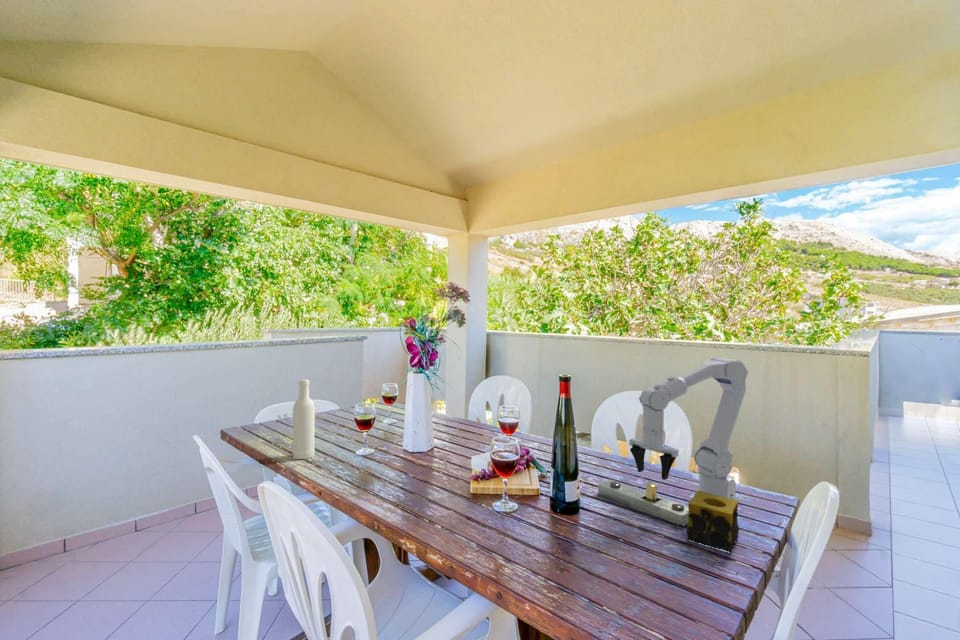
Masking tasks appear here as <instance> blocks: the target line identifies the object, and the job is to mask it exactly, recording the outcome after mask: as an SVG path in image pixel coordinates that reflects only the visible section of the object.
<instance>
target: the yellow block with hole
mask: <svg viewBox="0 0 960 640" xmlns="http://www.w3.org/2000/svg"><path fill="white" fill-rule="evenodd" d="M687 505H688V507H689V511H688V513H689V514H688V524H686V526H687V527H686V528H687V529H686V535H687V537H686V539H688V540H691V541H694V542H697V543H701V544H704V545H708V546H711V547H714V548H718V549H723V550H726V551H729V552H731V551H732V549H733V550H734V548H733V546H734V545H735V544H736V543H735V541H736V539H737V538H738V539H739V528H740V527H739V524H738V523H739V522H738V516H739V513H738V507H739V500H737V499H735V500H734V499H729V498H725V497H722V496H718V495H713V494H710V493H706V492H702V491H699V490H696V492H695V493H694V495H693V497H692V498H691V499H690V500H689V502H688V504H687ZM688 540H687V541H688ZM736 542H737V541H736ZM735 546H736V545H735ZM735 546H734V547H735ZM732 552H733V551H732Z"/></svg>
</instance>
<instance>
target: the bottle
mask: <svg viewBox="0 0 960 640" xmlns="http://www.w3.org/2000/svg"><path fill="white" fill-rule="evenodd" d="M298 381H299V382H298V399H296V401H295V402H294V404H293V406H292V458H293V459H294V460H297V459H304V460H308V459H307V458H309V459H312V458H313V457H314V456H315V449H316V447H315V422H316V421H315V417H316V416H315V413H316V411H315V410H316V409H315V407H316V406H315V403H314V401H313V400H312V399H311V397H310V380H309V379H300V380H298ZM311 457H312V458H311Z"/></svg>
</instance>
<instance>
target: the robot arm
mask: <svg viewBox="0 0 960 640" xmlns="http://www.w3.org/2000/svg"><path fill="white" fill-rule="evenodd" d="M748 374H749V370H748V369H747V367H746V366H745V364H744V362H742V361H741V360H738V359H728V358H722V357H718V356H715V357H712V358H710V359H707V360H705V361H704V363H703V364H701V365H700V366H698V367H696V368H694V369H693V370H691V371H690V372H688V373H686V374H685V375H683V376H681V377H679V376H669V377H667V380H665V381H663V382H662V383H659V384H657V383H656V384H655V385H654V386H653V388H652V387H647V388H645V389H644V390H642V392H641V394H640V396H639V397H638V400H639V402H640V404H641V405H642V439H640V438H639V439H638V438H634V437H631V438H629V441H628V446H631V448H630V451H629V452H630V453H631V454H632V456H633V459H634V461H635V465H636V468H637V469H636V470H637V472H638V473H641V472H644V469H645V455H646V450H649V451H653V452H657V453H660V454H662V455H660V456H659V458H660V463H661V479H662V480H667V479H669V475H670V471H671V467H672V466H673V464H674V462H675V460H676V459H677V457H679V449H678V448H674V447H672V446H669V445H667V444H665V443H664V418H665V417H664V414H665V413H664V412H665V409H666V408H668V404H669V403H670V402H672V401H674V400H676V399H678V398H679V397H681V396H684V395H685V394H687V391H688V388H691V387H692V386H694V385H696V384H700V383H701V382H703V381H706V380H708V379H710V378H712V379H714V380H715V381H716V382H717V383H719V386H720V387H721V389H722V395H721V398H720V401H719V404H718V407H717V411H716V413H715V415H714V420H713V422H712V426H711V428H710V432H709V436H708V438H706V439H704V441H701V442H700V445H699V447H698V449H697V450H696V451H695V452H694V456H693V460H694V463H695V464H696V465H697V469H698V491H702V492H706V493H710V494H713V495H718V496H722V497H725V498H729V499H734V500H736V492H737V491H736V481H735V479H733V478H731V477H730V476H729V474H731V471H732V470H733V462H732V460H733V457H734V454H733V452H732V451H731V449H730V447H729V445H730V442H731V441H730V440H731V437H732V435H733V432H734V428H735V425H736V422H737V419H738V415H739V412H740V410H741V406H742V403H743V401H744V397H745V394H746V390H747V387H746V385H747V384H746V380H747V377H748Z"/></svg>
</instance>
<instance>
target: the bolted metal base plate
mask: <svg viewBox="0 0 960 640" xmlns="http://www.w3.org/2000/svg"><path fill="white" fill-rule="evenodd" d="M597 494H598V495H600V496H602V497H605V498H608V499H610V500H613V501H615V502H618V503H620V504H622V503H623V504H622V505H625V504H626V506H628V505H629V506H628V507H630V506H632V507H631V508H633V507H635V508H637V509H636V510H638V509H639V510H638V511H640V510H642V511H641V512H643V511H644V512H643V513H645V512H647V513H646V514H648V513H649V514H648V515H651V514H652V515H651V516H653V515H654V517H656V516H657V517H656V518H658V517H660V518H659V519H661V518H662V519H661V520H663V519H665V520H664V521H666V520H668V521H670V522H669V523H671V522H673V523H672V524H674V523H676V524H678V525H677V526H679V525H682V526H683V525H684V524H686V523H688V514H689V513H688V511H689V507H688V506H687V505H684V504H682V503H680V502H676V501H674V500H671V499H668V498H665V497H663V496H659V495H657V502H656V503H652V502H649V501H647V500H646V490H642V489H639V488H636V487H634V486H630V485H628V484H625V483H622V482H620V481H617V480H614V479H609V480H606V481H604V482H601V483H599V484H598V486H597ZM635 508H634V509H635ZM668 521H667V522H668ZM676 524H675V525H676ZM686 525H687V524H686ZM683 527H684V526H683Z"/></svg>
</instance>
